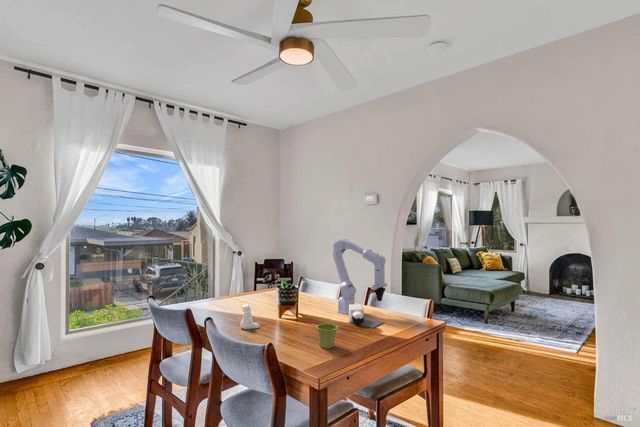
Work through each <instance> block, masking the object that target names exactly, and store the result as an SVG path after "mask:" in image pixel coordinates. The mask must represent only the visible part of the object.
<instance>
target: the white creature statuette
mask: <svg viewBox="0 0 640 427" xmlns="http://www.w3.org/2000/svg"><path fill="white" fill-rule="evenodd" d="M241 310H242V312H243V315H242V318H241V321H240V324H239V325H240V328H242V329H243V330H252V329H253V330H254V329H259V328H260V323H258V322H254V321H253V316H252V308H251V306H250V305H249V304H247V303H246V304H244V305H241Z"/></svg>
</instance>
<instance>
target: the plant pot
mask: <svg viewBox="0 0 640 427" xmlns="http://www.w3.org/2000/svg"><path fill="white" fill-rule="evenodd" d="M338 328H339V326H338V325H336V324H334V323H320V324H317V325H316V329H317V332H318V339H319V340H318V342H319V346H320V348H322V349H332V348H334V347H335V340H336V334H337V330H338Z"/></svg>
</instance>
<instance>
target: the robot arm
mask: <svg viewBox="0 0 640 427" xmlns="http://www.w3.org/2000/svg"><path fill="white" fill-rule="evenodd" d="M332 246H333V251H332V257H333V260H334V264H335V266H336V271H337V273H338V277H339V280H340V287H339V288H340V296H339V299H338V301H337V302H338V304H337V313H339V314H345V315H349V304H356V303H355V302H356V301H355V295H356V293H357V289H356V287H355V286H354V284H353V282H352V281H351V280H350V276H349V274H348V269H347V267H346V264H345V261H344V258H343V255H344V253H345V252H346V250H352V251H353V252H356V253H358V254H360V255H362V258H363V259H365V260H367V261H368V262H370V263H372V264H373V266H374V283H373V285H372V286H371V290H373V291H374V294H375V295H376V296H375V297H376V300H377V301H378V302H382V301H383V297H384V293H385V291H386V287H387V286H388V283H387V282H386V281H385V279H386V278H385V264H386V263H387V262H386V260H387V259H386V258H385V256H383V255H380V254H379V253H376V252H373V251H372V249H371V248H370V249H368V248H367V249H364V248H362V247H361V246H359V245H357V244H356V243H354V242H353V241H351V240H348V239H346V238H343V239H337V240H335V242H334V243H333V245H332Z"/></svg>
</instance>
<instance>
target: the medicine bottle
mask: <svg viewBox="0 0 640 427" xmlns="http://www.w3.org/2000/svg"><path fill="white" fill-rule="evenodd" d="M364 311H365V310H364V307H363V304H360V303H359V304H358V303H357V304H356V303H355V304H349V314H348V318H349V322H353V323H354V324H353V325H358V326H361V325H360V324H362V323H363V321H364V318H365V317H364V316H365V315H364Z"/></svg>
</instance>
